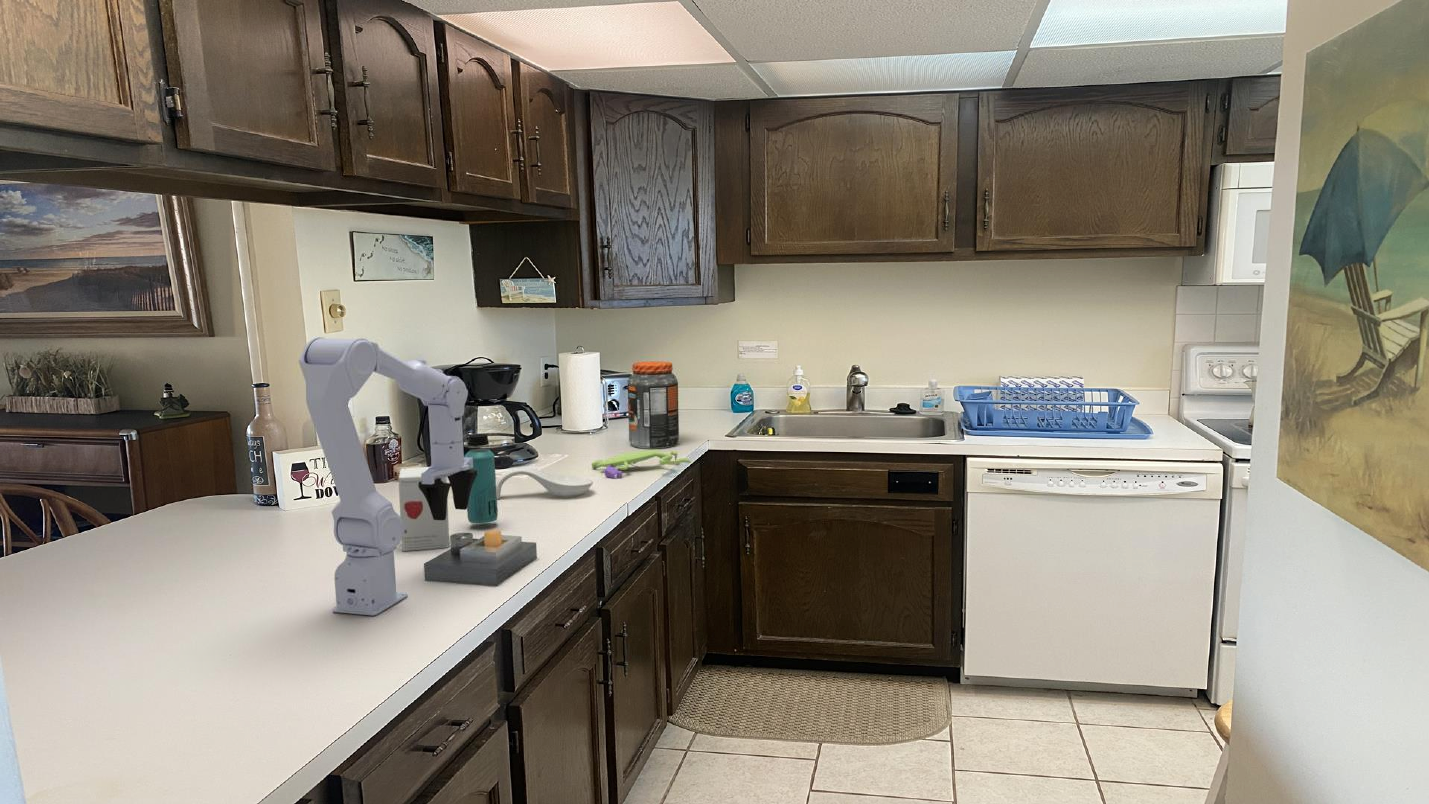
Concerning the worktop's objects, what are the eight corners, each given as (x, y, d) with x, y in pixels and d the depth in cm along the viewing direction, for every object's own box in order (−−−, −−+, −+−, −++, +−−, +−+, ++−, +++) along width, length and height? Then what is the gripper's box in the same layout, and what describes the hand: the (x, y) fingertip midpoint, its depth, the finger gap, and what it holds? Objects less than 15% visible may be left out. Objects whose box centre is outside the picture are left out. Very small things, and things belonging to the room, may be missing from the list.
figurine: (691, 478, 241) (691, 457, 240) (590, 481, 238) (589, 460, 238) (686, 464, 259) (686, 444, 259) (592, 466, 257) (591, 447, 256)
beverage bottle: (490, 531, 192) (486, 437, 189) (461, 529, 193) (456, 436, 190) (503, 523, 198) (499, 432, 195) (475, 521, 199) (471, 431, 197)
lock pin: (496, 572, 165) (495, 535, 164) (482, 571, 166) (480, 533, 165) (505, 567, 167) (504, 530, 166) (491, 566, 168) (490, 529, 167)
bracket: (496, 563, 161) (495, 552, 160) (460, 560, 162) (460, 549, 162) (521, 546, 170) (521, 536, 170) (487, 544, 172) (487, 534, 172)
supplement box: (401, 552, 178) (396, 477, 176) (403, 539, 186) (399, 467, 184) (449, 548, 180) (445, 473, 178) (450, 535, 189) (446, 464, 187)
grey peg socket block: (496, 585, 158) (495, 552, 157) (424, 580, 161) (422, 547, 160) (536, 557, 173) (535, 527, 172) (470, 553, 176) (468, 523, 176)
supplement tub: (631, 440, 295) (629, 360, 291) (680, 440, 295) (678, 360, 291) (626, 450, 279) (624, 365, 275) (677, 449, 279) (676, 365, 275)
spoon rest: (591, 488, 230) (590, 460, 229) (595, 499, 219) (594, 470, 218) (495, 494, 226) (494, 465, 225) (493, 505, 214) (492, 475, 213)
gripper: (445, 449, 157) (449, 526, 159) (486, 435, 171) (489, 505, 173) (409, 448, 159) (413, 523, 161) (452, 434, 173) (456, 503, 175)
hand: (450, 514), depth 167 cm, fingers open, 7 cm apart
